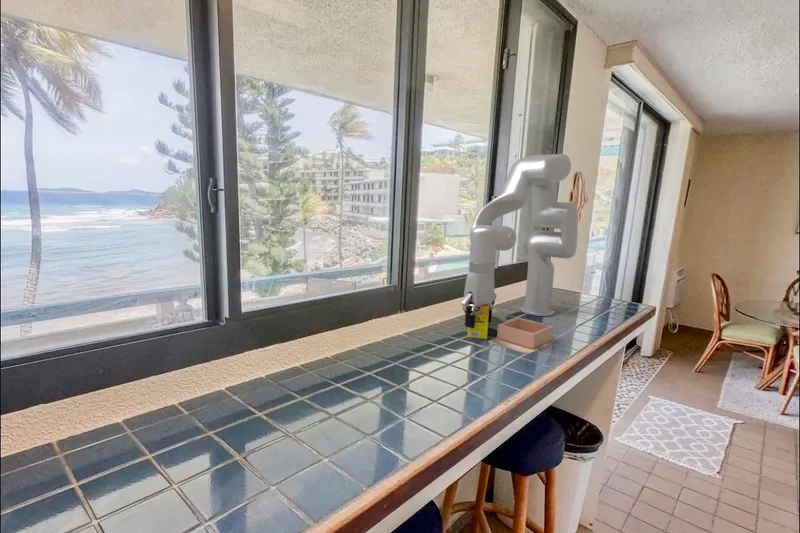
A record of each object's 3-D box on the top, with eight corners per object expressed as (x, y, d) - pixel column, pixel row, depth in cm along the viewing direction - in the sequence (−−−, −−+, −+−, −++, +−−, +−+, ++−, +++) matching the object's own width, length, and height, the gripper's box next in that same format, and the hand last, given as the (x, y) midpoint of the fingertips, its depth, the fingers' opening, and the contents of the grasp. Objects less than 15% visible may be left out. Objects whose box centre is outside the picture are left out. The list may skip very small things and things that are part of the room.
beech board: (515, 334, 130) (515, 330, 130) (554, 345, 121) (554, 341, 121) (486, 345, 119) (487, 341, 119) (527, 358, 110) (527, 354, 110)
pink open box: (517, 331, 130) (518, 317, 129) (551, 341, 121) (553, 326, 121) (497, 339, 122) (498, 324, 121) (532, 350, 113) (534, 334, 113)
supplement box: (487, 342, 122) (489, 307, 120) (467, 340, 123) (469, 305, 121) (487, 336, 128) (489, 302, 126) (467, 334, 129) (469, 301, 127)
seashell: (466, 308, 133) (481, 299, 140) (464, 329, 135) (480, 320, 142) (501, 319, 125) (516, 309, 132) (499, 342, 127) (513, 331, 134)
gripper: (487, 264, 130) (484, 316, 133) (453, 269, 118) (450, 326, 121) (508, 267, 125) (504, 321, 128) (475, 273, 113) (471, 333, 116)
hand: (478, 324), depth 125 cm, fingers closed on supplement box, 8 cm apart
